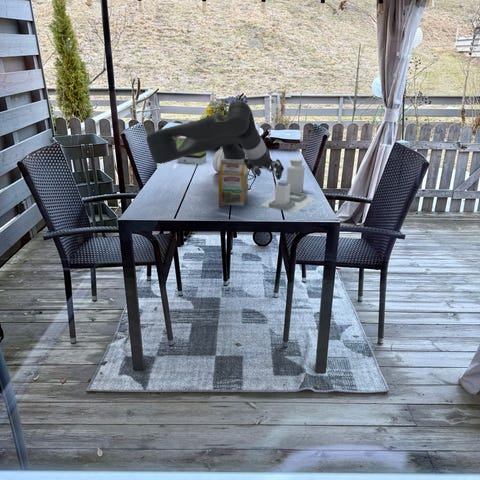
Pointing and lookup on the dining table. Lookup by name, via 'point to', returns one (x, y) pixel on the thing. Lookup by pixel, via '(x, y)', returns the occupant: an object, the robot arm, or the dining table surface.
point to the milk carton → (232, 182)
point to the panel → (290, 202)
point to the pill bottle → (295, 175)
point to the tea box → (193, 158)
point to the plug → (282, 193)
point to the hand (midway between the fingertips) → (269, 176)
